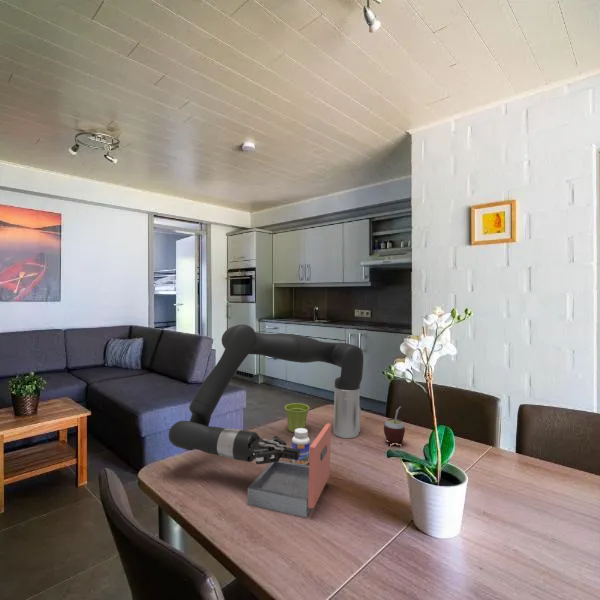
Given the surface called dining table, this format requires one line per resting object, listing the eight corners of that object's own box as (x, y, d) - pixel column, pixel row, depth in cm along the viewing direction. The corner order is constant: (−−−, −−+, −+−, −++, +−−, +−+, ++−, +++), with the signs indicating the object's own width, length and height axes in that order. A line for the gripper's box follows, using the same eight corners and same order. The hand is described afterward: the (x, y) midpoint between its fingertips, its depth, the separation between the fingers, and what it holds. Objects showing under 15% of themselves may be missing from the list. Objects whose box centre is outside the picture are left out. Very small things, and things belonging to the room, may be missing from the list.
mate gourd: (390, 438, 129) (391, 396, 129) (410, 445, 124) (411, 401, 124) (378, 444, 124) (380, 401, 124) (399, 451, 119) (400, 406, 118)
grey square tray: (247, 504, 87) (247, 488, 87) (272, 473, 102) (273, 459, 102) (306, 517, 82) (306, 500, 82) (323, 483, 97) (324, 468, 97)
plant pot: (313, 428, 137) (314, 406, 136) (300, 436, 129) (301, 413, 128) (293, 423, 142) (293, 401, 141) (279, 431, 134) (279, 407, 133)
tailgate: (308, 507, 82) (309, 446, 82) (325, 474, 97) (326, 423, 97) (314, 508, 82) (316, 448, 81) (331, 475, 97) (332, 424, 97)
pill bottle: (296, 467, 106) (297, 435, 106) (288, 459, 111) (289, 428, 110) (312, 463, 108) (313, 432, 108) (304, 456, 113) (304, 426, 113)
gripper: (225, 439, 90) (290, 450, 85) (249, 422, 103) (307, 430, 97) (225, 469, 90) (289, 482, 85) (248, 448, 103) (306, 458, 97)
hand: (298, 454), depth 91 cm, fingers closed
